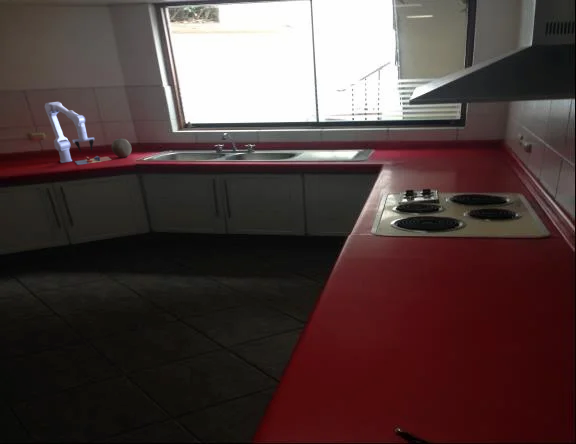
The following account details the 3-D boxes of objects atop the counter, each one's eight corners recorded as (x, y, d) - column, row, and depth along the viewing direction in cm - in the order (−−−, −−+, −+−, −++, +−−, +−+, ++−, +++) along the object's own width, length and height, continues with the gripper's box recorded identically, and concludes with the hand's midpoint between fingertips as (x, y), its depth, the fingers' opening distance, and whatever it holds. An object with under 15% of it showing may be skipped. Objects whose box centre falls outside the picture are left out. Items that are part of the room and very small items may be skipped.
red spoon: (85, 160, 320) (84, 157, 319) (90, 159, 322) (89, 156, 321) (87, 162, 311) (86, 159, 310) (93, 162, 313) (92, 158, 312)
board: (74, 161, 319) (74, 161, 319) (107, 156, 331) (107, 156, 331) (77, 165, 306) (77, 164, 306) (112, 160, 318) (111, 159, 318)
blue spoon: (102, 160, 318) (101, 157, 317) (96, 161, 316) (95, 157, 315) (99, 158, 326) (98, 154, 325) (93, 158, 324) (93, 155, 323)
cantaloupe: (114, 157, 329) (110, 138, 323) (133, 155, 332) (129, 136, 327) (113, 160, 316) (109, 141, 311) (132, 158, 320) (129, 139, 314)
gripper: (71, 134, 297) (76, 153, 302) (93, 132, 304) (97, 150, 309) (70, 133, 302) (74, 151, 307) (92, 130, 309) (95, 149, 314)
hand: (86, 151), depth 308 cm, fingers open, 7 cm apart
